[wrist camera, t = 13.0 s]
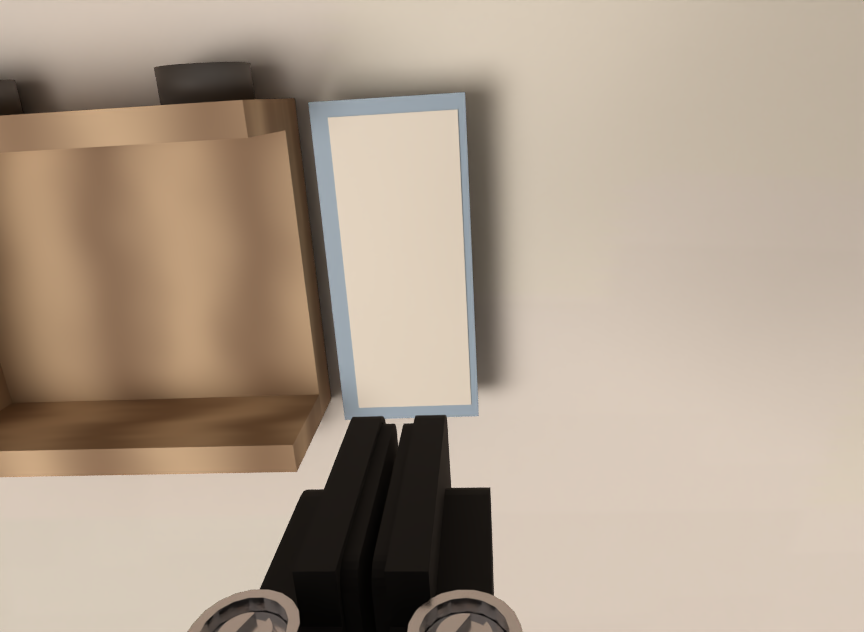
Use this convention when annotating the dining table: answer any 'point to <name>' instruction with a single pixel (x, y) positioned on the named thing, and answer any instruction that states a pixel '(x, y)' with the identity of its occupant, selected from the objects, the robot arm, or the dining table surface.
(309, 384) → the truck bed
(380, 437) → the robot arm
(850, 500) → the dining table surface
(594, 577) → the dining table surface
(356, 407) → the panel
